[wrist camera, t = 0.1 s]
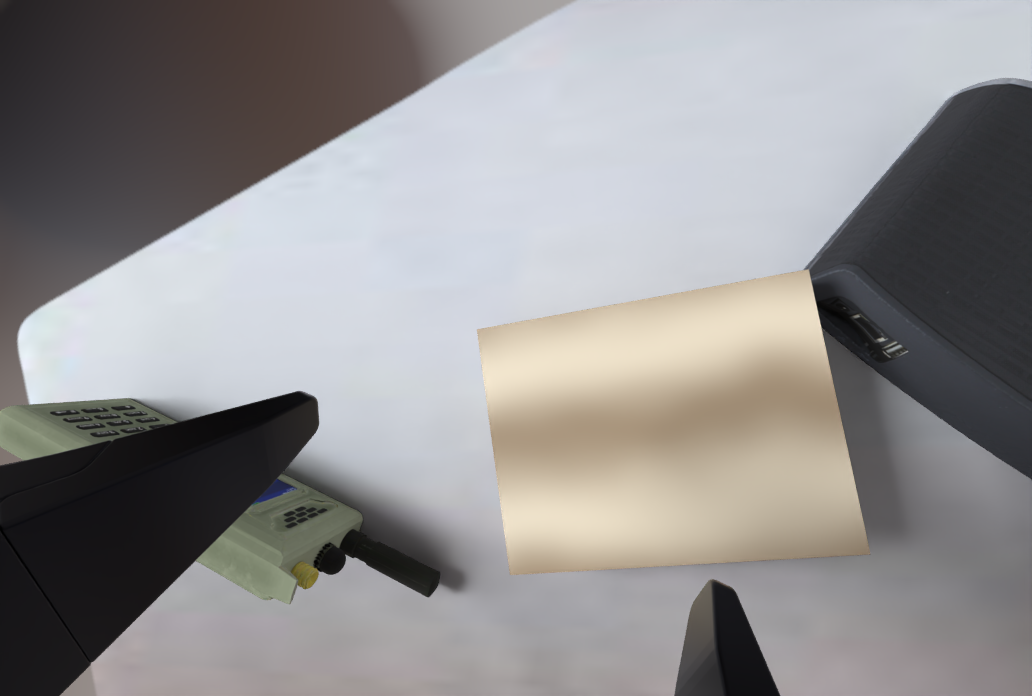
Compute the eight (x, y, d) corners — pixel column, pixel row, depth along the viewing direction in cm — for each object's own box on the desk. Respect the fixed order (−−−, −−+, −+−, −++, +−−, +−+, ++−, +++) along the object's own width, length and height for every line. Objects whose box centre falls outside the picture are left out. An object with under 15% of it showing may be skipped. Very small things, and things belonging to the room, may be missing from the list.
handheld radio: (132, 389, 31) (456, 545, 25) (118, 434, 32) (437, 600, 25) (2, 396, 25) (395, 607, 19) (-14, 452, 25) (370, 681, 19)
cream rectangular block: (825, 522, 21) (870, 554, 17) (528, 544, 24) (510, 574, 20) (776, 289, 22) (808, 269, 18) (499, 337, 25) (476, 329, 21)
